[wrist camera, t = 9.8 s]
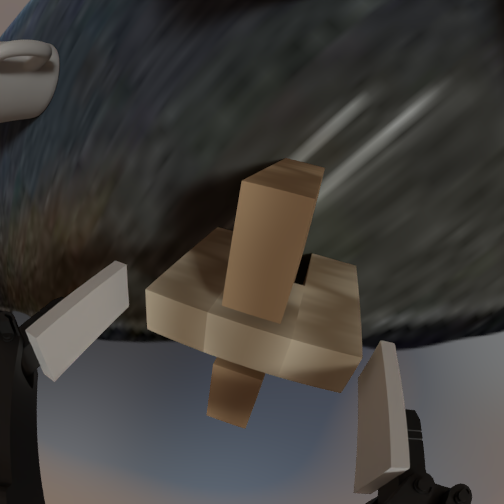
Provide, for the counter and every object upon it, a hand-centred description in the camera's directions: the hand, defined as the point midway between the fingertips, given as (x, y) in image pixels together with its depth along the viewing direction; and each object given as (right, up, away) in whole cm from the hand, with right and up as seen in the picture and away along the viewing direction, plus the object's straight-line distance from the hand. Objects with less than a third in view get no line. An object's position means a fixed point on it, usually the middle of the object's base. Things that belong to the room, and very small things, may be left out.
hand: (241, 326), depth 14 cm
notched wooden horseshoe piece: (+3, +3, +7) cm, 8 cm away
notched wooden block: (+3, +3, +7) cm, 8 cm away
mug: (-20, +22, +6) cm, 30 cm away
